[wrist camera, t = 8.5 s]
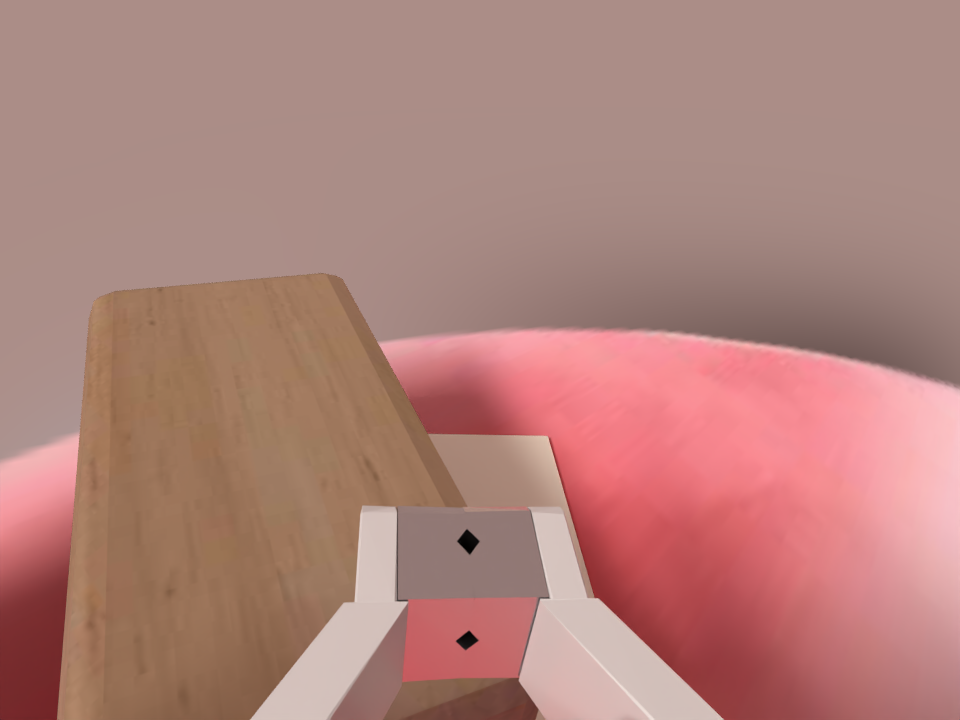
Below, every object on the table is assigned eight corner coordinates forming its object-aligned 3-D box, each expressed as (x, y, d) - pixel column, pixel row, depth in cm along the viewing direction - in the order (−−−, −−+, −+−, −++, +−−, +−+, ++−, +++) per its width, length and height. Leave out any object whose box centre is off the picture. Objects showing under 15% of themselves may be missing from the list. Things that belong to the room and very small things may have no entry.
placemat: (546, 440, 36) (547, 436, 36) (659, 835, 21) (662, 831, 20) (248, 434, 34) (248, 430, 34) (120, 877, 18) (118, 873, 18)
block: (140, 1034, 16) (132, 474, 30) (510, 851, 20) (344, 434, 34) (26, 870, 10) (84, 283, 25) (573, 661, 14) (343, 262, 29)
